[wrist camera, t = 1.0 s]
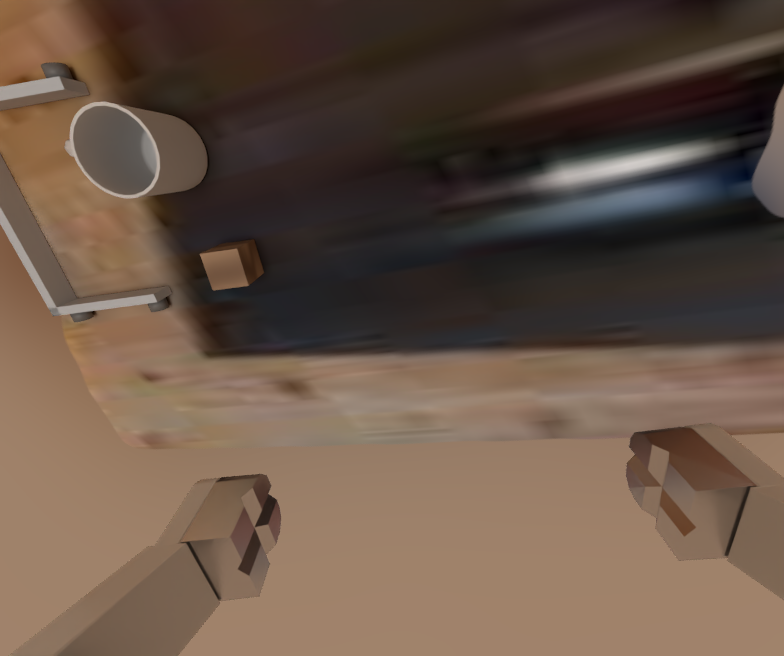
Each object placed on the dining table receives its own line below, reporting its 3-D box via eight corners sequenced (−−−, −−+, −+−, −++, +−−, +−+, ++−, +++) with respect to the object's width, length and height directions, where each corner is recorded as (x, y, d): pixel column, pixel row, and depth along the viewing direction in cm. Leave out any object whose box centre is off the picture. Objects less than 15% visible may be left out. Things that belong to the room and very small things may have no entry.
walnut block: (220, 243, 42) (199, 253, 38) (254, 239, 42) (236, 248, 37) (232, 277, 44) (212, 290, 39) (264, 272, 44) (248, 285, 39)
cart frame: (-45, 88, 36) (-81, 82, 33) (77, 65, 35) (50, 57, 32) (79, 317, 46) (59, 326, 44) (176, 304, 45) (162, 313, 43)
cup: (214, 193, 40) (167, 201, 32) (122, 186, 40) (51, 193, 32) (204, 117, 37) (150, 105, 29) (104, 109, 37) (21, 95, 29)
